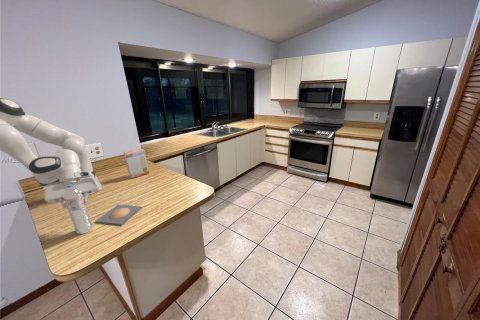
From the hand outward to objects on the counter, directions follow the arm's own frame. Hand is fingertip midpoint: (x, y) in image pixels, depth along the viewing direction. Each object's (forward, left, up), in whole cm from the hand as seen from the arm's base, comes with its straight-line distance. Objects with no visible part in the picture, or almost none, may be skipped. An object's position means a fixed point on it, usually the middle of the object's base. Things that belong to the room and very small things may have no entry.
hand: (75, 204), depth 92 cm
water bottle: (0, 0, -15) cm, 15 cm away
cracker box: (-18, +65, -15) cm, 70 cm away
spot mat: (+8, +14, -15) cm, 22 cm away
